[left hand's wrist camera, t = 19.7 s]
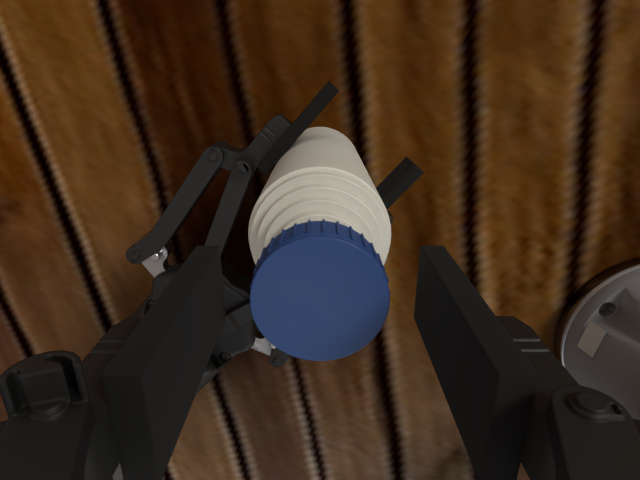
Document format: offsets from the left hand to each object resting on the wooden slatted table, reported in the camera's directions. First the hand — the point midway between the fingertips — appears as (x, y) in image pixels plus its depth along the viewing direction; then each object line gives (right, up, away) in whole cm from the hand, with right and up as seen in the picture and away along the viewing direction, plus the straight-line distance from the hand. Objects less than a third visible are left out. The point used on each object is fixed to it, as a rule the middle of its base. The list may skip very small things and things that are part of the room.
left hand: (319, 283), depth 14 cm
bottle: (0, +7, +19) cm, 20 cm away
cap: (0, 0, -1) cm, 1 cm away
